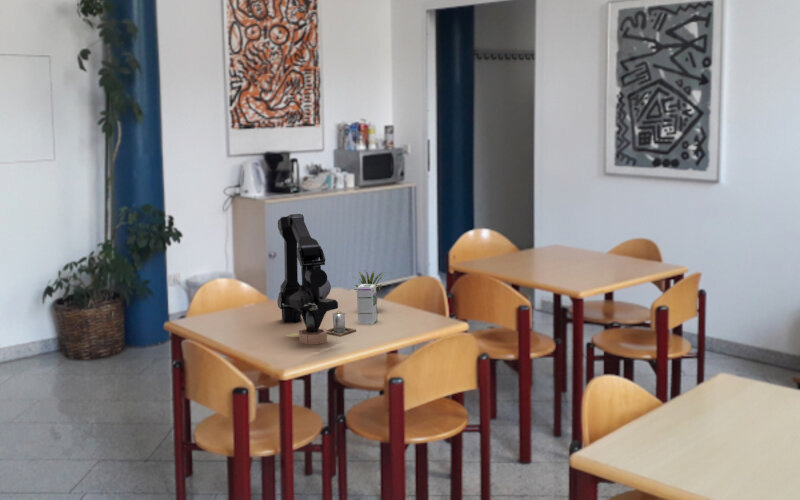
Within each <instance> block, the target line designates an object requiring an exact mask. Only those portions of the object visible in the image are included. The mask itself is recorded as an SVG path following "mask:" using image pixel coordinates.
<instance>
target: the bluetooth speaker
mask: <svg viewBox="0 0 800 500" xmlns="http://www.w3.org/2000/svg"><path fill="white" fill-rule="evenodd" d="M331 290H332V286H331V282H330V281H329V280H328V279H327V282H326V283H325V284H324V285H323V286H322V287H320V296H323V299H321V300H320V301H322V300H325V299H327V297H328V296H329V295H330V292H331ZM313 303H314V302H313ZM312 308H314V309H316V306H313V305H312Z"/></svg>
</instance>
